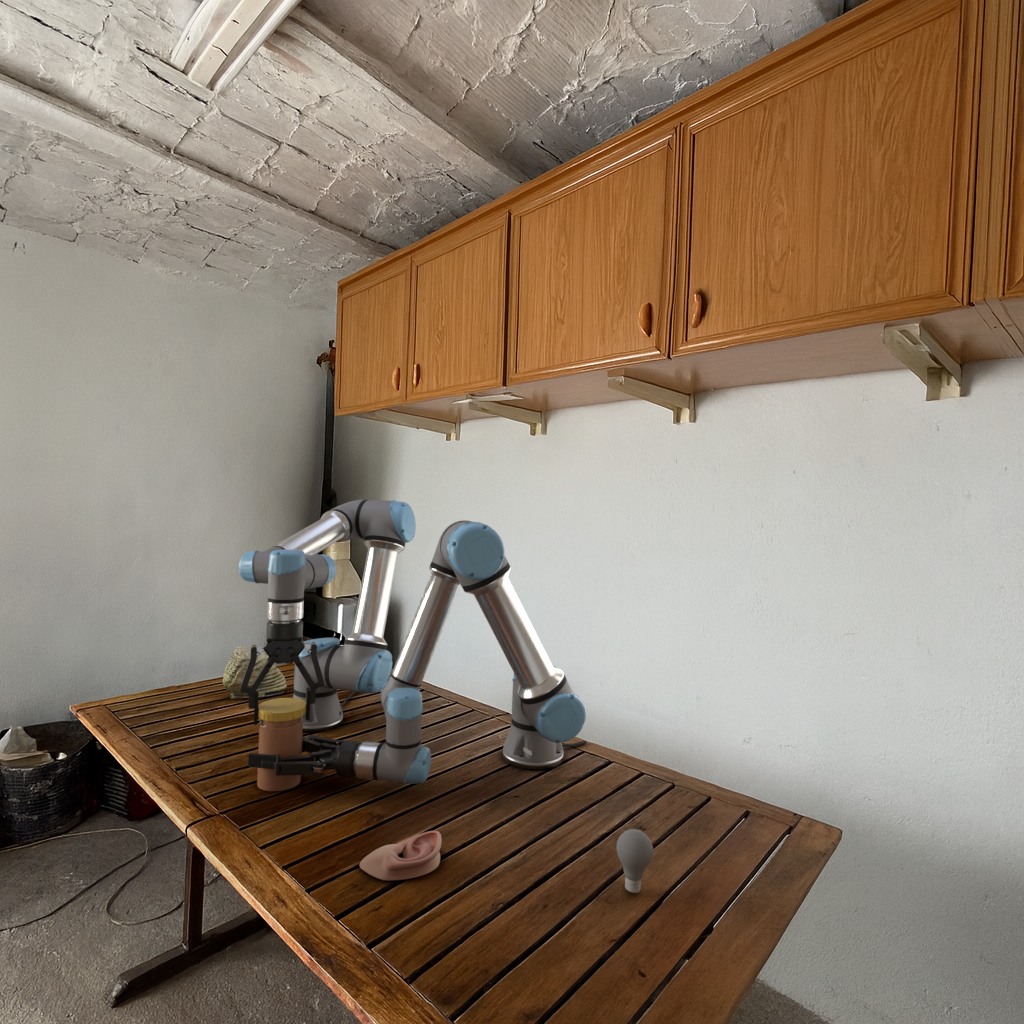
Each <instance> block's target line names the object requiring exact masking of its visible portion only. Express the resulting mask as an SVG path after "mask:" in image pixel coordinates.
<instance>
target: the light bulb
mask: <svg viewBox="0 0 1024 1024" xmlns="http://www.w3.org/2000/svg"><path fill="white" fill-rule="evenodd" d="M615 849H616V854H617V857H618V859H619V861H620V863H621V865H622V867H623V873H624V874H623V875H624V876H625V878H624V888H625V890H627V891H628V892H630V893H634V894H635V893H639V892H640V891H641V889H642V887H641V886H642V879H643V877H644V875H645V871H646V868H647V867H648V866H649V864H650V863H651V861H652V859H653V855H654V847H653V843H652V841H651V838H649V836H648V835H647V834H646V833H645V832H643V831H642V830H641V829H636V828H629V829H627V830H625V831H623V832H622V833H621V834H620V835H619V837H618V839H617V841H616V847H615Z"/></svg>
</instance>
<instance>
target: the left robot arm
mask: <svg viewBox="0 0 1024 1024" xmlns="http://www.w3.org/2000/svg"><path fill="white" fill-rule="evenodd" d="M416 529H417V524H416V517H415V513H414V510H413V508H412V507H411V506H410V504H408V503H407V502H405V501H398V500H397V501H396V500H381V499H379V500H378V499H356V500H355V499H354V500H351V501H348V502H345V503H342V504H340V505H338V506H337V505H336V506H335V507H333V508H331V509H329V510H327V511H326V512H324V513H322V515H321V517H320V518H319V520H316V521H315V522H313V523H312V524H310V525H308V526H306V527H304V528H302V529H301V530H299V531H297V532H296V533H294V534H292V535H290V536H289V537H287V538H285V539H282V540H281V541H280V542H278V543H276V544H274V545H273V546H271V547H269V548H267V549H265V550H262V551H260V550H249V551H246V552H245V553H244V554H243V555H242V556H241V558H240V559H239V563H238V572H239V575H240V577H241V579H242V580H243V581H246V582H249V583H255V584H263V585H264V584H266V585H267V601H266V602H267V603H266V604H267V607H266V619H267V620H268V621H267V622H266V635H265V636H266V637H265V643H264V644H262V645H261V644H260V645H256V644H252V645H251V646H250V649H251V657H250V660H249V663H248V666H247V669H246V671H245V674H244V677H243V680H242V683H241V686H240V691H241V692H245V693H248V694H249V698H248V709H249V710H253V725H254V726H257V725H258V726H259V718H258V706H259V697H258V695H259V691H256V690H257V689H258V687H259V686H260V684H261V682H262V681H263V679H264V678H265V676H266V675H267V673H268V671H269V670H270V668H271V667H272V666H273V664H274V663H275V665H276V664H277V665H278V664H279V665H281V664H283V663H285V664H292V663H294V672H293V695H292V696H293V697H292V698H297V699H301V700H304V701H305V702H306V714H305V715H304V716H302V718H303V733H316V732H325V731H329V730H332V729H335V728H337V727H339V726H340V725H342V723H343V722H344V714H343V709H342V707H343V706H344V705H345V704H346V703H347V702H348V700H349V699H351V698H352V697H353V696H354V695H356V694H357V693H359V694H376V693H378V692H380V691H381V690H382V687H383V686H384V684H385V683H386V682H387V681H388V680H389V678H390V676H391V674H392V670H393V655H392V653H391V652H390V651H389V650H388V643H387V642H386V640H385V638H384V635H385V629H386V624H387V620H388V619H387V617H388V613H389V607H390V603H391V602H390V601H391V597H392V590H393V586H394V585H393V584H394V579H395V573H396V567H397V563H398V556H399V554H401V553H402V552H403V551H405V549H406V543H407V544H408V543H411V542H412V541H413V540H414V537H415V535H416ZM349 539H351V540H352V539H359V540H363V545H364V546H365V547H366V548H367V553H366V558H365V564H364V568H363V574H362V579H361V584H360V590H359V595H358V600H357V605H356V610H355V615H354V621H353V625H352V632H351V634H349V635H348V636H346V637H345V638H344V643H343V645H340V644H341V643H340V642H341V641H340V639H339V638H337V637H320V638H319V637H318V638H313V639H307V640H304V639H303V638H304V637H303V636H304V635H303V633H304V632H303V631H304V621H303V620H302V619H303V618H304V602H305V599H304V597H305V590H309V589H314V588H321V587H324V586H326V585H328V584H330V583H331V582H333V581H334V579H335V578H336V575H337V564H336V561H335V560H334V559H333V558H332V556H329V555H327V554H324V553H323V554H319V553H321V552H322V551H324V550H325V549H327V548H328V547H331V546H332V545H333V544H335V543H337V544H338V543H342V542H344V541H346V540H349ZM262 651H264V652H265V653H266V654H267V655H268V656H269V657H268V659H267V661H266V663H265V664H264V666H263V667H262V669H261V671H260V672H259V674H258V675H257V677H256V678H255V680H254V682H253V683H252V685H251V686H248V683H249V680H250V677H251V674H252V671H253V669H254V666H255V663H256V660H257V656H260V654H261V652H262ZM338 690H341V691H347V692H348V691H349V692H351V693H350V694H349V695H347V697H346V698H345V699H344V700H343V702H340V699H339V695H338Z"/></svg>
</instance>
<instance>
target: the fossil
mask: <svg viewBox="0 0 1024 1024" xmlns="http://www.w3.org/2000/svg"><path fill="white" fill-rule="evenodd" d="M250 657H251V647H247V646H246V647H245V646H238V647H237V648H236V649H235V650H233V651H232V653H231V656H230V657H229V659H228V660H227V663H226V666H225V668H224V671H223V675H222V676H223V677H222V685H223V687H224V688H225V690H226V691H228V693H229V698H230V699H249V694H248V693H245V692H241V691H240V686H241V683H242V680H243V677H244V674H245V671H246V669H247V666H248V663H249V660H250ZM268 657H269V656H268V655H267V653H266V652H265V651H262V652H261V654H260V656H257V660H256V663H255V666H254V669H253V671H252V674H251V677H250V680H249V683H248V686H251V685H252V683H253V682H254V680H255V678H256V677H257V675H258V674H259V672H260V671H261V669H262V667H263V666H264V664H265V663H266V661H267V659H268ZM287 687H288V686H287V680H286V678H285V676H284V674H283V673H282V672H281V669H279V668H278V667H277V665H276V663H274V664H273V666H272V667H271V668H270V670H269V671H268V673H267V675H266V676H265V678H264V679H263V681H262V682H261V684H260V686H259V687H258V689H257V690H256V691H259V695H258V698H264V697H271V696H275V695H281V694H284V693H285V691H286V689H287Z"/></svg>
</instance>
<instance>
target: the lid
mask: <svg viewBox="0 0 1024 1024" xmlns="http://www.w3.org/2000/svg"><path fill="white" fill-rule="evenodd" d="M305 714H306V702H305V701H304V700H301V699H297V698H293V697H277V698H272V699H268V700H264V701H263V702H261V703H258V719H259V720H261V719H262V720H265V721H271V722H282V721H290V720H294V719H298V718H300V717H302V716H304V715H305Z"/></svg>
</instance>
